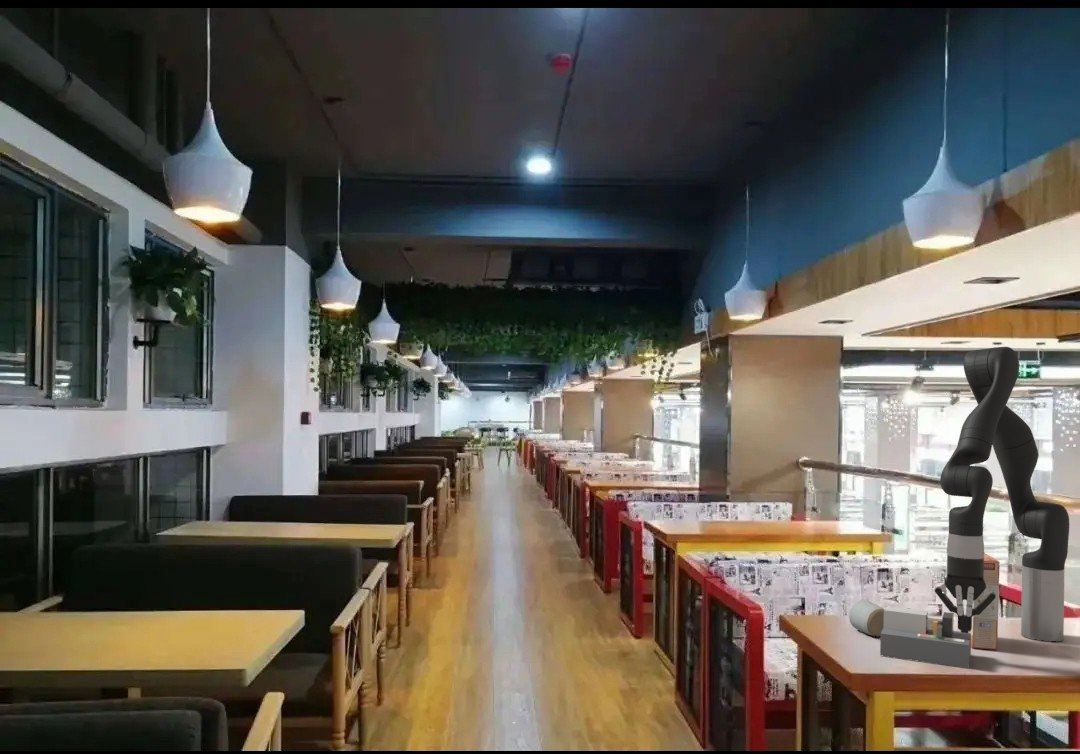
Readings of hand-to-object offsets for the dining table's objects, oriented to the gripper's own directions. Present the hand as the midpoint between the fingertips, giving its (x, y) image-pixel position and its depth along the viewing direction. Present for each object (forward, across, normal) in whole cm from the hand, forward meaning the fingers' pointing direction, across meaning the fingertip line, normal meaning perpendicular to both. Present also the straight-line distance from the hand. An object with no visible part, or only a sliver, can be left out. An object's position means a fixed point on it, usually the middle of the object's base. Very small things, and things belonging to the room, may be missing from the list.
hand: (964, 632), depth 206 cm
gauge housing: (+6, +8, +1) cm, 10 cm away
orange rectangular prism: (+1, +6, +4) cm, 7 cm away
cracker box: (+6, -2, -18) cm, 19 cm away
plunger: (+1, +8, +1) cm, 8 cm away
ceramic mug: (+6, +20, -13) cm, 25 cm away
